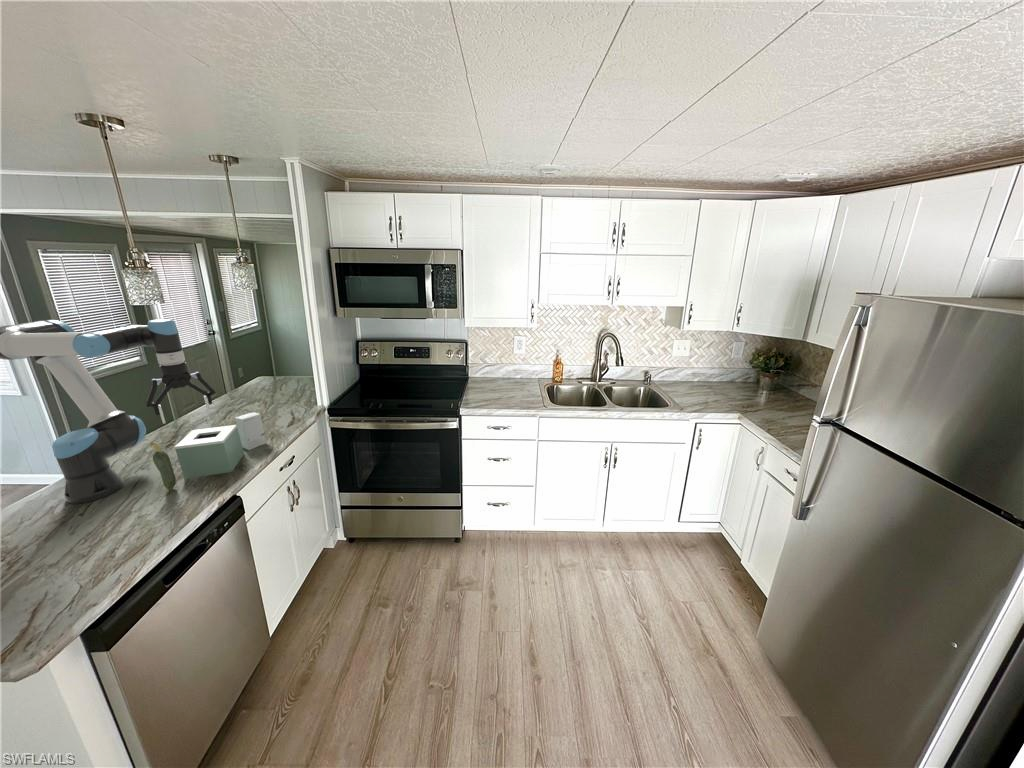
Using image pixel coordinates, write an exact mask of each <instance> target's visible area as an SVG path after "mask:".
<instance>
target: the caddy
mask: <svg viewBox="0 0 1024 768" xmlns="http://www.w3.org/2000/svg"><path fill="white" fill-rule="evenodd" d="M174 449H175V452H176V456H177V458H178V463H179V465H180V468H181V472H182V475H183V478H184V480H187V479H193V478H194V477H195V478H200V477H206V476H213V475H214V476H215V475H221V473H222V474H227V473H232V472H233V471H234V469H235V468H236V466H237V465H238V464H239V462H240V461H241V459H242V457H243V456H245V452H244V448H243V447H242V444H241V440H240V436H239V432H238V428H237V424H230V425H223V426H215V427H206V428H199V429H192V430H191V431H190V432H189V433H187V434H186V436H185V437H183V438H182V439H181V440H180V441H179V442H178V443H177V444H175V446H174Z"/></svg>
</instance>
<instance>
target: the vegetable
mask: <svg viewBox="0 0 1024 768" xmlns="http://www.w3.org/2000/svg"><path fill="white" fill-rule="evenodd" d="M149 444H150V447H153V449H154V453H153V455H152V461H153V463H154V465H155V467H156V469H157V470H158V471H159V473H160V476H161V480H162V482H163V483H162V484H163V487H164V488H165V489H167V491H172V490H173V489H174V488H175V486H176V484H177V482H176V481H177V479H176V476H175V472H174V469H173V465H172V462H171V459H170V456H169V453H167V451H164V450H163V448H162V447H161V445H160V444H158V443H157V442H150V443H149Z"/></svg>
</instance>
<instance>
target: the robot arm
mask: <svg viewBox="0 0 1024 768" xmlns="http://www.w3.org/2000/svg"><path fill="white" fill-rule="evenodd" d="M179 333H180V332H179V329H178V327H177V325H176V321H175V320H173V319H170V318H161V319H151V320H148V322H147V325H146V324H145V325H144V324H143V325H142V324H124V325H120V326H119V327H118V328H112V329H107V330H100V331H82V332H81V331H80V332H78V331H75V329H74V328H72V326H71V325H69V324H67V323H66V322H63V321H60V320H58V319H57V320H56V319H46V320H43V319H41V320H40V319H39V320H37V321H31V322H24V323H23V322H22V323H17V324H10V325H9V324H7V325H3V326H2V325H1V326H0V359H1V360H6V361H7V360H9V361H10V360H11V361H12V360H23V359H24V360H25V359H27V358H32V359H33V360H34V362H35V363H36V364H38V365H39V364H41V365H43V366H46V368H47V369H48V371H50V373H51V375H52V376H54V378H55V379H56V381H58V383H59V384H60V386H61V387H62V388H63V390H64V391H65V393H67V394H68V396H69V397H70V398H71V399H72V401H73V402H74V404H75V405H76V406H77V407H78V409H79V410H80V411H81V412H82V414H83V415H84V417H86V419H87V420H88V424H87V427H86V428H81V429H77V430H73V431H70V432H68V433H65V434H63V435H61V436H59V437H58V438H56V439H55V440H54V441H53V443H52V445H51V447H52V452H53V455H54V458H55V459H56V461H57V463H58V466H59V468H60V470H61V473H62V474H63V477H64V480H65V487H64V499H65V501H66V502H67V503H68V504H75V505H76V504H78V505H79V504H84V503H89V502H90V503H91V502H93V501H97V500H99V499H103V498H106V497H108V496H110V495H112V494H114V493H115V492H117V491H118V490H120V489H122V487H124V481H123V479H122V477H121V476H119V474H118V473H117V471H115V470H114V469H113V468H112V467H111V465H110V463H109V462H110V461H109V460H108V459H109V458H111V457H113V456H116V455H118V454H120V453H122V452H124V451H126V450H129V449H132V448H133V447H135V446H137V445H138V444H140V443H142V442H143V441H144V440H145V438H146V434H147V428H146V426H145V424H144V422H143V420H142V419H141V418H140V417H137V416H135V415H128V414H127V412H126V411H123V410H119V409H117V408H116V406H115V405H114V403H113V402H112V401H111V399H110V398H109V396H108V395H107V394H106V393H105V391H104V390H103V389H102V388H101V386H100V385H99V384H98V382H97V381H96V380H95V379H96V378H94V376H93V375H92V374H91V373H90V372H89V370H88V369H87V367H86V366H85V365H84V364H83V362H82V361H81V360H80V359H79V357H80V356H81V357H82V358H85V359H92V358H101V357H103V356H107V355H111V354H114V353H118V352H124V351H129V350H133V349H137V348H140V347H151V348H152V347H153V348H154V353H155V356H156V359H157V363H158V364H159V369H160V372H161V378H151V387H150V390H149V392H148V396H147V398H146V401H145V406H146V407H147V408H149V407H150V408H153V409H154V414H155V415H156V416H160V418H161V421H162V424H163V425H164V424H166V419H165V417H164V416H165V415H164V412H163V409H162V406H161V402H162V401H163V399H164V398H166V395H167V394H168V393H169V391H171V389H175V390H176V389H179V388H185V387H186V386H188V387H189V388H192V389H194V390H195V391H197V392H199V393H200V394H201V395H203V398H204V399H203V400H204V404H205V408H206V411H207V413H208V414H211V413H212V411H211V407H210V405H212V404H213V401H212V397H211V396H213V395H215V394H216V393H217V392H216V391H215V389H214V388H213V387H212V386H211V385H210V384H208V382H207V381H206V380H205V379H203V378H202V375H201V373H200V372H199V371H195V372H194V373H190V372H189V369H188V366H187V362H186V358H185V353H184V350H183V346H182V343H181V338H180V334H179ZM78 356H79V357H78ZM192 378H194V380H195V379H196V380H198V382H200V384H202V385H203V386H204V387H205V388H206V389H207V390H208V391H207V390H205V389H203V388H202V387H200V386H198V385H197V384H195V383H194V382H192V381H191V379H192ZM161 383H163V384H164V387H163V388H162V390H161V391H160V392H159V394H158V396H157V397H156V398H155V400H154V397H155V395H156V391H157V388H158V386H159V385H161ZM153 400H154V401H153Z"/></svg>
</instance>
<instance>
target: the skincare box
mask: <svg viewBox="0 0 1024 768" xmlns="http://www.w3.org/2000/svg"><path fill="white" fill-rule="evenodd" d="M234 420H235V423H236V424H235V425H237V428H238V432H239V436H240V440H241V444H242V447H243V449H245V450H248V451H251V450H252V449H255V448H258V447H261V446H263V445H266V444H267V440H266V434H265V430H264V425H263V422H262V416H261V413H258V412H254V411H253V412H249V413H246V414H242V415H240V416H239V415H238V416H236V417H234Z"/></svg>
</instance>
